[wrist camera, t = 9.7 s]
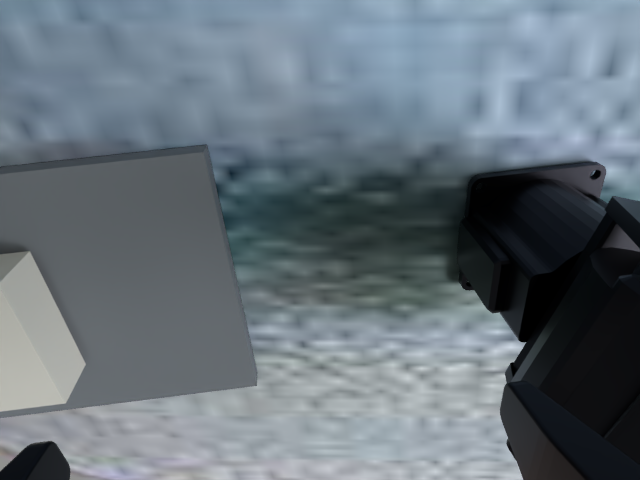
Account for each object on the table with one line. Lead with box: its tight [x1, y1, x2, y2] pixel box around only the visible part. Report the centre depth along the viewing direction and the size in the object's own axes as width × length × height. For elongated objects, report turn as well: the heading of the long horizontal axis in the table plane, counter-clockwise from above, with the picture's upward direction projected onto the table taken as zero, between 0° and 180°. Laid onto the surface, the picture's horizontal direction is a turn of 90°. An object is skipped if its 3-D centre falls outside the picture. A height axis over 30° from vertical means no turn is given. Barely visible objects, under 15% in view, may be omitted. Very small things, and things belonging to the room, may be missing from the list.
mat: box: [0, 145, 257, 418], centre depth 22 cm, size 16×14×1 cm
